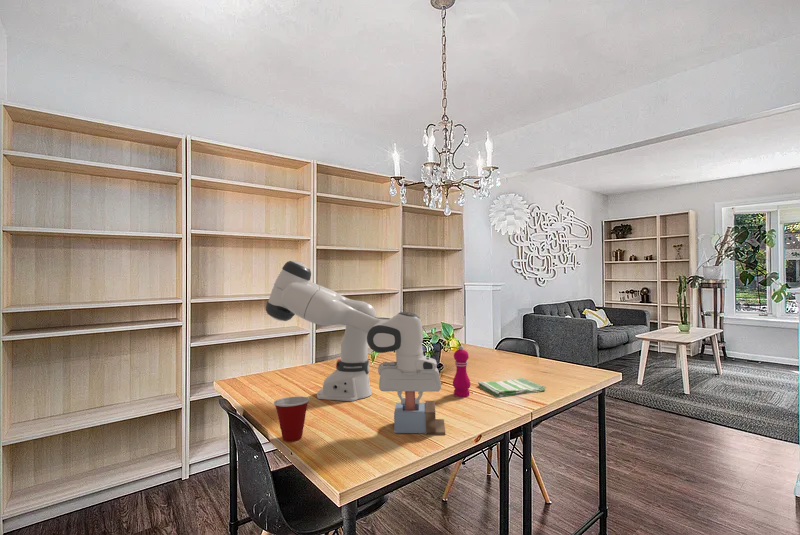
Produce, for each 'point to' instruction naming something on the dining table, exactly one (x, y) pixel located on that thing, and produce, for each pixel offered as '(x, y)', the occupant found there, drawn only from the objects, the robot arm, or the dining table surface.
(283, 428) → the plastic cup
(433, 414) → the brown l-shaped block
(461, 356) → the pepper mill
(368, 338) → the robot arm
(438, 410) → the dining table surface
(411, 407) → the dowel
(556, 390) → the dining table surface
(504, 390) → the dish towel
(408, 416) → the blue-grey slotted block
